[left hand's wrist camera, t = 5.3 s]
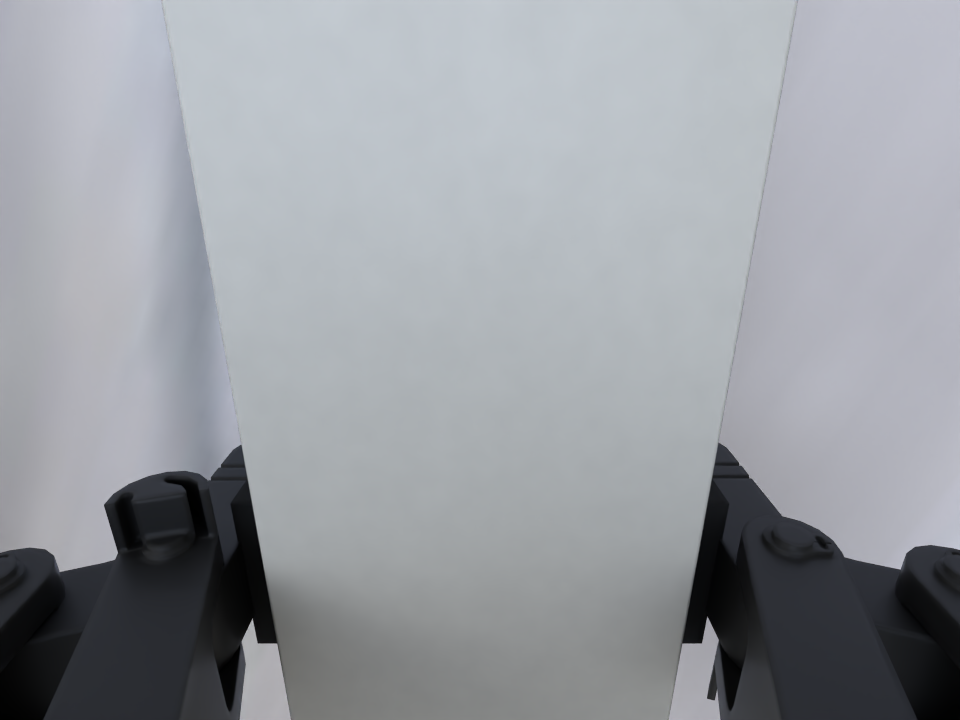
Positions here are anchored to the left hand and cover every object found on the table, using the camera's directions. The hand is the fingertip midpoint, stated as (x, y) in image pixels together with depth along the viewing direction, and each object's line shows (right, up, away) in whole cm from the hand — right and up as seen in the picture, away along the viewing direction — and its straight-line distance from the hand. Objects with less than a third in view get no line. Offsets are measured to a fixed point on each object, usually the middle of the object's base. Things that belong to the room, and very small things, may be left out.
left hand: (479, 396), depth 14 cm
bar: (0, +22, -8) cm, 24 cm away
